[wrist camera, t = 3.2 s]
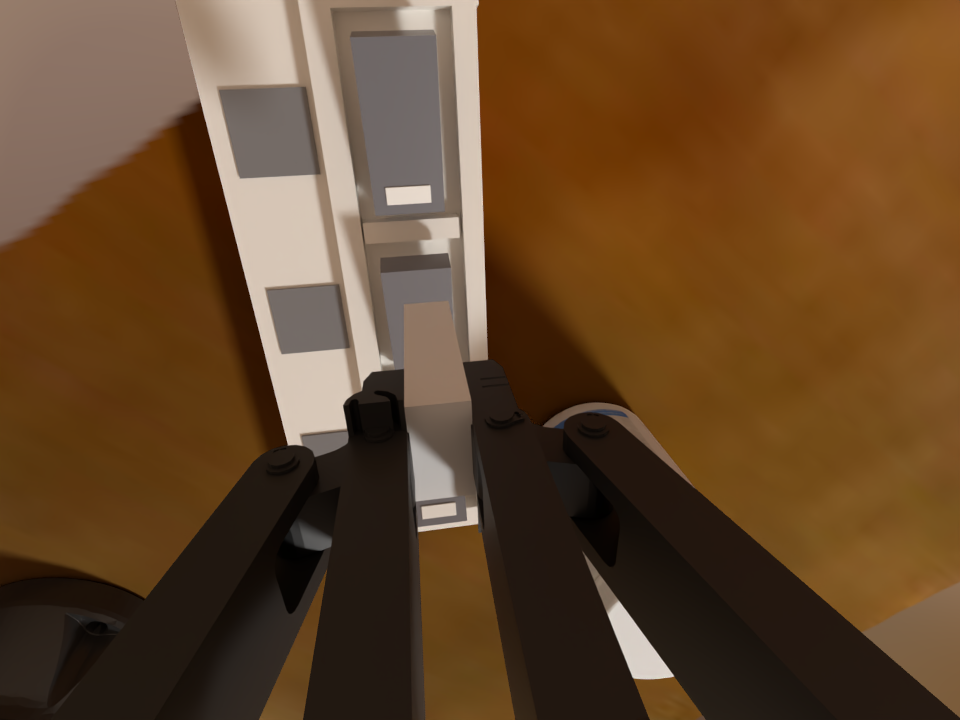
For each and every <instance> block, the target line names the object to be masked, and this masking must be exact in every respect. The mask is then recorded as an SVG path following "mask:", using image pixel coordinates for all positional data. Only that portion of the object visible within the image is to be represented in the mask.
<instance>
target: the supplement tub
mask: <svg viewBox="0 0 960 720" xmlns="http://www.w3.org/2000/svg"><path fill="white" fill-rule="evenodd" d="M585 412H593V413H594V412H595V413H601V414H604V415H607V416H610V417H612V418H613V419H615V420H616V421H618V422H619V423H620V424H621V425H623V426H624V427H625V428H626V429H627V430H628V431H629V432H631V433H632V434H633V435H634V436H635V437H636V438H638V439H639V440H640V441H641V442H642V443H643V444H644V445H646V446H647V447H648V448H649V449H650V450H651V451H653V452H654V453H655V454H656V455H657V456H658V457H659V458H661V459H662V460H663V461H664V462H665V463H666V464H668V465H669V466H670V467H671V468H672V469H673V470H674V471H676V472H677V473H678V474H679V475H680V476H681V477H683V478H684V479H685V480H686V481H687V482H688V483H689V484H691V482H690V481H689V480H688V479H687V477H686V476H685V475H684V474H683V472H682V471H681V470H680V469H679V467H678V466H677V465H676V464H675V462H674V461H673V460H672V459H671V457H670V456H669V455H668V454H667V452H666V451H665V450H664V449H663V447H662V446H661V445H660V444H659V442H658V441H657V440H656V439H655V437H654V436H653V435H652V434H651V432H650V431H649V430H648V429H647V428H646V426H645V425H644V424H643V423H642V421H641V420H640V419H639V418H638V417H637V416H636V415H635V414H634V413H632V412H631V411H629V410H627V409H626V408H623V407H621V406H618V405H614V404H609V403H597V402H594V403H584V404H580V405H576V406H573V407H571V408H568V409H566V410H564V411H562V412H560V413H558V414H557V415H555V416H554V417H552V418H551V419H550V420H549V421H547V422H546V423H545V424H544V425H543V427H550V428H560V429H564V422H565V421H566V420H567V419H568V418H569V417H570V416H573V415H575V414H577V413H585ZM691 485H692V484H691ZM692 486H693V485H692ZM693 487H694V486H693ZM694 488H695V487H694ZM583 554H584V552H583ZM584 556H585V559H586V562H587V564H588V567H589V569H590V572H591V574H592V577H593V579H594V582H595V584H596V587H597V589H598V592H599V594H600V597H601V599H602V602H603V604H604V607H605V609H606V612H607V614H608V617H609V619H610V622H611V624H612V627H613V629H614V632H615V634H616V637H617V639H618V642H619V644H620V647H621V649H622V652H623V654H624V657H625V659H626V662H627V664H628V667H629V669H630V672H631V674H632V677H633V678H637V679H660V678H668V677H673V676H674V675H673V674H672V673H671V671H670V670H669V668H668V667H667V666H666V664H665V663H664V662H663V660H662V659H661V658H660V656H659V655H658V653H657V652H656V651H655V649H654V648H653V647H652V645H651V644H650V643H649V641H648V640H647V638H646V637H645V636H644V634H643V633H642V632H641V630H640V629H639V628H638V626H637V625H636V623H635V622H634V621H633V619H632V618H631V617H630V615H629V614H628V612H627V611H626V610H625V608H624V607H623V606H622V604H621V603H620V602H619V600H618V599H617V597H616V596H615V595H614V593H613V592H612V591H611V589H610V588H609V587H608V585H607V584H606V582H605V581H604V580H603V578H602V577H601V576H600V574H599V573H598V572H597V570H596V569H595V567H594V566H593V565H592V563H591V562H590V561H589V559H588V558H587V557H586V555H585V554H584Z"/></svg>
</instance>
